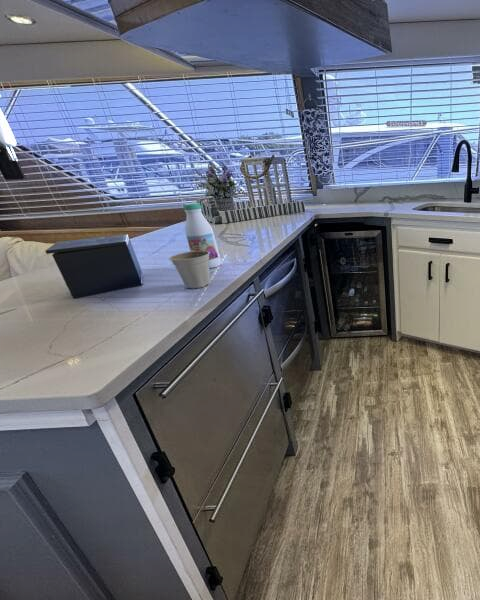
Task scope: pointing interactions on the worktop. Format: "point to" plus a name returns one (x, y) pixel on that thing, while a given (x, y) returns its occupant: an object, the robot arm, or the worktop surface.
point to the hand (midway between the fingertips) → (16, 179)
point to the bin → (99, 269)
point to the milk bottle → (200, 234)
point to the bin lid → (87, 244)
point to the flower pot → (193, 268)
